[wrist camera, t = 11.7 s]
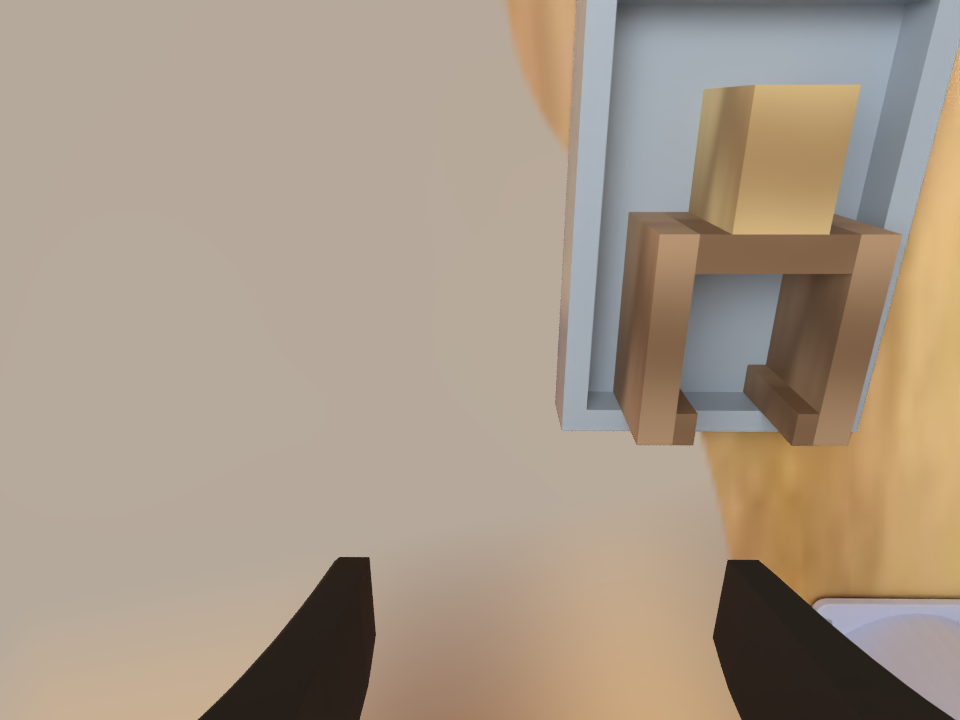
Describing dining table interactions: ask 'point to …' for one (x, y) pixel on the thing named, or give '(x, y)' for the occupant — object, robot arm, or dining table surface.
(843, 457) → the dining table surface
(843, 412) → the wooden stool frame
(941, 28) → the tray
